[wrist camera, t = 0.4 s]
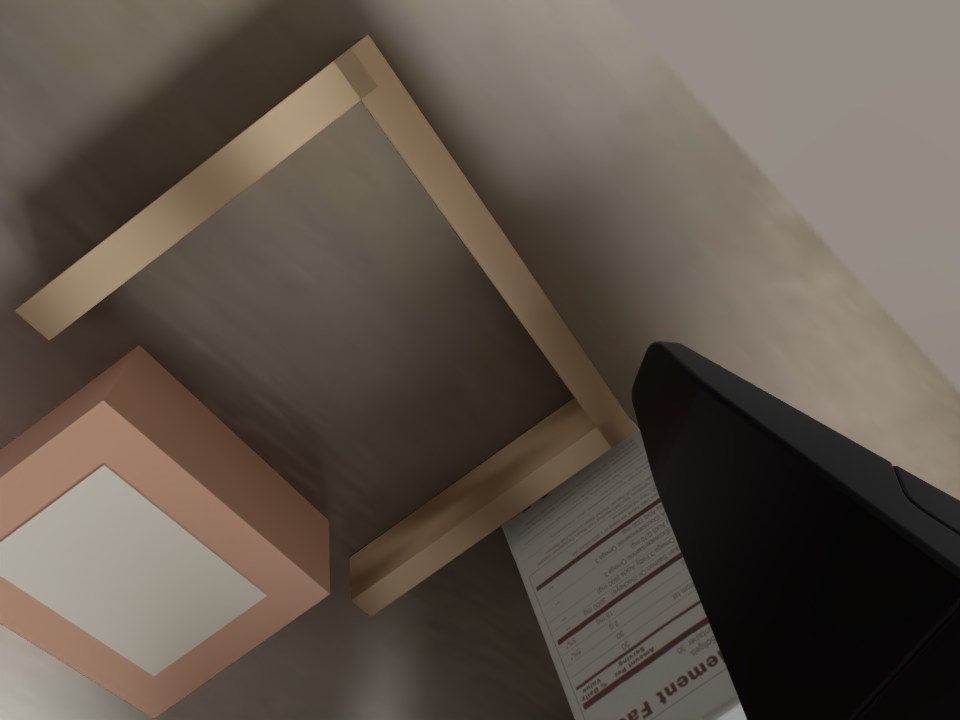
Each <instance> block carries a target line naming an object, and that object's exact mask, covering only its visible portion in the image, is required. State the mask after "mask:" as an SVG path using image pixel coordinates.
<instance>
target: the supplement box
mask: <svg viewBox="0 0 960 720" xmlns="http://www.w3.org/2000/svg"><path fill="white" fill-rule="evenodd" d="M632 423H633V424H634V426H635V427H636V428H637V431H635V432H634V433H633V434H631V435H630V436H628V437H627V438H625V439H624V440H623V441H621V442H620V443H618V444H617V445H615V446H614V447H613V448H611V449H610V450H608V451H607V452H605V453H604V454H603V455H601V456H600V457H598V458H597V459H595V460H594V461H593V462H591V463H590V464H588V465H587V466H585V467H584V468H583V469H581V470H580V471H578V472H577V473H576V474H574V475H573V476H571V477H570V478H568V479H567V480H566V481H564V482H563V483H561V484H560V485H558V486H557V487H556V488H554V489H553V490H551V491H550V492H548V493H547V494H546V495H544V496H543V497H541V498H540V499H538V500H537V501H536V502H534V503H533V504H531V505H530V506H528V507H527V508H526V509H524V510H523V511H521V512H520V513H518V514H517V515H516V516H514V517H513V518H511V519H510V520H508V521H507V522H506V523H504V524H503V525H501V526H502V529H503V532H504V534H505V537H506V539H507V542H508V544H509V547H510V549H511V552H512V554H513V557H514V559H515V562H516V564H517V567H518V570H519V572H520V575H521V578H522V580H523V583H524V586H525V588H526V591H527V594H528V596H529V599H530V602H531V604H532V607H533V610H534V612H535V615H536V617H537V620H538V623H539V625H540V628H541V631H542V633H543V636H544V639H545V641H546V644H547V647H548V649H549V652H550V655H551V657H552V660H553V663H554V665H555V668H556V671H557V673H558V676H559V679H560V681H561V684H562V687H563V689H564V692H565V695H566V697H567V700H568V703H569V705H570V708H571V711H572V713H573V716H574V718H575V720H747V719H746V716H745V713H744V711H743V708H742V706H741V703H740V701H739V698H738V696H737V693H736V691H735V688H734V686H733V683H732V680H731V678H730V675H729V673H728V670H727V668H726V665H725V663H724V660H723V658H722V655H721V652H720V650H719V647H718V645H717V642H716V640H715V637H714V635H713V632H712V630H711V627H710V625H709V622H708V619H707V617H706V614H705V612H704V609H703V607H702V604H701V602H700V599H699V597H698V594H697V591H696V589H695V586H694V584H693V581H692V579H691V576H690V574H689V571H688V569H687V566H686V564H685V561H684V558H683V556H682V553H681V551H680V548H679V546H678V543H677V541H676V538H675V536H674V533H673V530H672V528H671V525H670V523H669V520H668V518H667V515H666V513H665V510H664V508H663V505H662V503H661V500H660V497H659V494H658V492H657V489H656V486H655V483H654V480H653V476H652V473H651V470H650V466H649V462H648V458H647V455H646V451H645V447H644V444H643V440H642V436H641V432H640V429H639V428H638V427H637V426H636V424H635V423H634V422H633V421H632Z"/></svg>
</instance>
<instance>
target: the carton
mask: <svg viewBox="0 0 960 720" xmlns="http://www.w3.org/2000/svg"><path fill="white" fill-rule="evenodd" d="M328 595H330V546H329V520H328V519H326V518H325V517H324V516H323V515H322V514H321V513H320V512H319V511H318V510H317V509H316V508H315V507H314V506H312V505H311V504H310V503H309V502H308V501H307V500H306V499H305V498H304V497H303V496H302V495H301V494H300V493H298V492H297V491H296V490H295V489H294V488H293V487H292V486H291V485H290V484H289V483H288V482H287V481H285V480H284V479H283V478H282V477H281V476H280V475H279V474H278V473H277V472H276V471H275V470H274V469H273V468H271V467H270V466H269V465H268V464H267V463H266V462H265V461H264V460H263V459H262V458H261V457H260V456H259V455H257V454H256V453H255V452H254V451H253V450H252V449H251V448H250V447H249V446H248V445H247V444H246V443H244V442H243V441H242V440H241V439H240V438H239V437H238V436H237V435H236V434H235V433H234V432H233V431H232V430H230V429H229V428H228V427H227V426H226V425H225V424H224V423H223V422H222V421H221V420H220V419H219V418H217V417H216V416H215V415H214V414H213V413H212V412H211V411H210V410H209V409H208V408H207V407H206V406H205V405H203V404H202V403H201V402H200V401H199V400H198V399H197V398H196V397H195V396H194V395H193V394H192V393H191V392H189V391H188V390H187V389H186V388H185V387H184V386H183V385H182V384H181V383H180V382H179V381H178V380H176V379H175V378H174V377H173V376H172V375H171V374H170V373H169V372H168V371H167V370H166V369H165V368H164V367H162V366H161V365H160V364H159V363H158V362H157V361H156V360H155V359H154V358H153V357H152V356H151V355H150V354H148V353H147V352H146V351H145V350H144V349H143V348H142V347H141V346H140V345H138V346H137V347H136V348H134V349H133V350H132V351H130V352H129V353H128V354H126V355H125V356H124V357H122V358H121V359H120V360H118V361H117V362H116V363H114V364H113V365H112V366H110V367H109V368H108V369H107V370H105V371H104V372H103V373H101V374H100V375H99V376H97V377H96V378H95V379H93V380H92V381H91V382H89V383H88V384H87V385H85V386H84V387H83V388H81V389H80V390H79V391H78V392H76V393H75V394H74V395H72V396H71V397H70V398H68V399H67V400H66V401H64V402H63V403H62V404H60V405H59V406H58V407H56V408H55V409H54V410H52V411H51V412H50V413H49V414H47V415H46V416H45V417H43V418H42V419H41V420H39V421H38V422H37V423H35V424H34V425H33V426H31V427H30V428H29V429H27V430H26V431H25V432H23V433H22V434H21V435H19V436H18V437H17V438H16V439H14V440H13V441H12V442H10V443H9V444H8V445H6V446H5V447H4V448H2V449H1V450H0V624H2V625H3V626H5V627H6V628H8V629H10V630H11V631H13V632H15V633H16V634H18V635H19V636H21V637H23V638H24V639H26V640H27V641H29V642H31V643H32V644H34V645H36V646H37V647H39V648H40V649H42V650H44V651H45V652H47V653H49V654H50V655H52V656H53V657H55V658H57V659H58V660H60V661H61V662H63V663H65V664H66V665H68V666H70V667H71V668H73V669H74V670H76V671H78V672H79V673H81V674H82V675H84V676H86V677H87V678H89V679H91V680H92V681H94V682H95V683H97V684H99V685H100V686H102V687H103V688H105V689H107V690H108V691H110V692H112V693H113V694H115V695H116V696H118V697H120V698H121V699H123V700H124V701H126V702H128V703H129V704H131V705H133V706H134V707H136V708H137V709H139V710H141V711H142V712H144V713H146V714H147V715H149V716H150V717H152V718H156V717H157V716H158V715H160V714H161V713H163V712H164V711H166V710H167V709H168V708H170V707H171V706H173V705H174V704H175V703H177V702H178V701H180V700H181V699H183V698H184V697H185V696H187V695H188V694H190V693H191V692H192V691H194V690H195V689H197V688H198V687H200V686H201V685H202V684H204V683H205V682H207V681H208V680H209V679H211V678H212V677H214V676H215V675H217V674H218V673H219V672H221V671H222V670H224V669H225V668H226V667H228V666H229V665H231V664H232V663H234V662H235V661H236V660H238V659H239V658H241V657H242V656H243V655H245V654H246V653H248V652H249V651H250V650H252V649H253V648H255V647H256V646H258V645H259V644H260V643H262V642H263V641H265V640H266V639H267V638H269V637H270V636H272V635H273V634H275V633H276V632H277V631H279V630H280V629H282V628H283V627H284V626H286V625H287V624H289V623H290V622H292V621H293V620H294V619H296V618H297V617H299V616H300V615H301V614H303V613H304V612H306V611H307V610H309V609H310V608H311V607H313V606H314V605H316V604H317V603H318V602H320V601H321V600H323V599H324V598H326V597H327V596H328Z"/></svg>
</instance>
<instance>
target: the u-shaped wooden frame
mask: <svg viewBox="0 0 960 720" xmlns="http://www.w3.org/2000/svg"><path fill="white" fill-rule="evenodd" d="M360 100H361V102H362V103H363V104H364V106H365V107H366V108H367V110H368V111H369V113H370V114H371V115H372V117H373V118H374V120H375V121H376V122H377V124H378V125H379V127H380V128H381V129H382V131H383V132H384V133H385V135H386V136H387V138H388V139H389V140H390V142H391V143H392V145H393V146H394V147H395V149H396V150H397V152H398V153H399V154H400V156H401V157H402V158H403V160H404V161H405V163H406V164H407V165H408V167H409V168H410V170H411V171H412V172H413V174H414V175H415V177H416V178H417V179H418V181H419V182H420V183H421V185H422V186H423V188H424V189H425V190H426V192H427V193H428V195H429V196H430V197H431V199H432V200H433V202H434V203H435V204H436V206H437V207H438V208H439V210H440V211H441V213H442V214H443V215H444V217H445V218H446V220H447V221H448V222H449V224H450V225H451V227H452V228H453V229H454V231H455V232H456V234H457V235H458V236H459V238H460V239H461V240H462V242H463V243H464V245H465V246H466V247H467V249H468V250H469V252H470V253H471V254H472V256H473V257H474V259H475V260H476V261H477V263H478V264H479V265H480V267H481V268H482V270H483V271H484V272H485V274H486V275H487V277H488V278H489V279H490V281H491V282H492V284H493V285H494V286H495V288H496V289H497V290H498V292H499V293H500V295H501V296H502V297H503V299H504V300H505V302H506V303H507V304H508V306H509V307H510V309H511V310H512V311H513V313H514V314H515V315H516V317H517V318H518V320H519V321H520V322H521V324H522V325H523V327H524V328H525V329H526V331H527V332H528V334H529V335H530V336H531V338H532V339H533V340H534V342H535V343H536V345H537V346H538V347H539V349H540V350H541V352H542V353H543V354H544V356H545V357H546V359H547V360H548V361H549V363H550V364H551V365H552V367H553V368H554V370H555V371H556V372H557V374H558V375H559V377H560V378H561V379H562V381H563V382H564V384H565V385H566V386H567V388H568V389H569V390H570V392H571V393H572V395H573V396H574V397H575V398H573V399H572V400H570V401H569V402H568V403H566V404H565V405H563V406H562V407H560V408H559V409H558V410H556V411H555V412H553V413H552V414H551V415H549V416H548V417H546V418H545V419H544V420H542V421H541V422H539V423H538V424H537V425H535V426H534V427H532V428H531V429H530V430H528V431H527V432H525V433H524V434H523V435H521V436H520V437H518V438H517V439H516V440H514V441H513V442H511V443H510V444H508V445H507V446H506V447H504V448H503V449H501V450H500V451H499V452H497V453H496V454H494V455H493V456H492V457H490V458H489V459H487V460H486V461H485V462H483V463H482V464H480V465H479V466H478V467H476V468H475V469H473V470H472V471H471V472H469V473H468V474H466V475H465V476H464V477H462V478H461V479H459V480H458V481H457V482H455V483H454V484H452V485H451V486H449V487H448V488H447V489H445V490H444V491H442V492H441V493H440V494H438V495H437V496H435V497H434V498H433V499H431V500H430V501H428V502H427V503H426V504H424V505H423V506H421V507H420V508H419V509H417V510H416V511H414V512H413V513H412V514H410V515H409V516H407V517H406V518H405V519H403V520H402V521H400V522H399V523H397V524H396V525H395V526H393V527H392V528H390V529H389V530H388V531H386V532H385V533H383V534H382V535H381V536H379V537H378V538H376V539H375V540H374V541H372V542H371V543H369V544H368V545H367V546H365V547H364V548H362V549H361V550H360V551H358V552H357V553H355V554H354V555H353V556H351V557H350V558H349V567H350V587H351V601H352V602H353V603H355V604H356V605H357V606H358V607H359V608H360V609H362V610H363V611H364V612H365V613H366V614H367V615H369V616H370V617H372V616H373V615H374V614H376V613H377V612H379V611H380V610H382V609H383V608H384V607H386V606H387V605H389V604H390V603H392V602H393V601H394V600H396V599H397V598H399V597H400V596H402V595H403V594H404V593H406V592H407V591H409V590H410V589H412V588H413V587H414V586H416V585H417V584H419V583H420V582H422V581H423V580H424V579H426V578H427V577H429V576H430V575H432V574H433V573H434V572H436V571H437V570H439V569H440V568H441V567H443V566H444V565H446V564H447V563H449V562H450V561H451V560H453V559H454V558H456V557H457V556H459V555H460V554H461V553H463V552H464V551H466V550H467V549H469V548H470V547H471V546H473V545H474V544H476V543H477V542H479V541H480V540H481V539H483V538H484V537H486V536H487V535H489V534H490V533H491V532H493V531H494V530H496V529H497V528H499V527H500V526H501V525H503V524H504V523H506V522H507V521H508V520H510V519H511V518H513V517H514V516H516V515H517V514H518V513H520V512H521V511H523V510H524V509H526V508H527V507H528V506H530V505H531V504H533V503H534V502H536V501H537V500H538V499H540V498H541V497H543V496H544V495H546V494H547V493H548V492H550V491H551V490H553V489H554V488H556V487H557V486H558V485H560V484H561V483H563V482H564V481H566V480H567V479H568V478H570V477H571V476H573V475H574V474H576V473H577V472H578V471H580V470H581V469H583V468H584V467H585V466H587V465H588V464H590V463H591V462H593V461H594V460H595V459H597V458H598V457H600V456H601V455H603V454H604V453H605V452H607V451H608V450H610V449H611V448H613V447H614V446H615V445H617V444H618V443H620V442H621V441H623V440H624V439H625V438H627V437H628V436H630V435H631V434H633V433H634V432H635V431H637V428H636V427H635V426H634V424H633V423H632V421H631V420H630V418H629V417H628V415H627V414H626V412H625V411H624V409H623V408H622V406H621V405H620V403H619V402H618V401H617V399H616V398H615V396H614V395H613V393H612V392H611V390H610V389H609V387H608V386H607V384H606V383H605V381H604V380H603V378H602V377H601V376H600V374H599V373H598V371H597V370H596V368H595V367H594V365H593V364H592V362H591V361H590V359H589V358H588V356H587V355H586V354H585V352H584V351H583V349H582V348H581V346H580V345H579V343H578V342H577V340H576V339H575V337H574V336H573V334H572V333H571V331H570V330H569V329H568V327H567V326H566V324H565V323H564V321H563V320H562V318H561V317H560V315H559V314H558V312H557V311H556V309H555V308H554V306H553V305H552V304H551V302H550V301H549V299H548V298H547V296H546V295H545V293H544V292H543V290H542V289H541V287H540V286H539V284H538V283H537V281H536V280H535V279H534V277H533V276H532V274H531V273H530V271H529V270H528V268H527V267H526V265H525V264H524V262H523V261H522V259H521V258H520V257H519V255H518V254H517V252H516V251H515V249H514V248H513V246H512V245H511V243H510V242H509V240H508V239H507V237H506V236H505V234H504V233H503V232H502V230H501V229H500V227H499V226H498V224H497V223H496V221H495V220H494V218H493V217H492V215H491V214H490V212H489V211H488V209H487V208H486V207H485V205H484V204H483V202H482V201H481V199H480V198H479V196H478V195H477V193H476V192H475V190H474V189H473V187H472V186H471V185H470V183H469V182H468V180H467V179H466V177H465V176H464V174H463V173H462V171H461V170H460V168H459V167H458V165H457V164H456V162H455V161H454V160H453V158H452V157H451V155H450V154H449V152H448V151H447V149H446V148H445V146H444V145H443V143H442V142H441V140H440V139H439V137H438V136H437V135H436V133H435V132H434V130H433V129H432V127H431V126H430V124H429V123H428V121H427V120H426V118H425V117H424V115H423V114H422V112H421V111H420V110H419V108H418V107H417V105H416V104H415V102H414V101H413V99H412V98H411V96H410V95H409V93H408V92H407V90H406V89H405V88H404V86H403V85H402V83H401V82H400V80H399V79H398V77H397V76H396V74H395V73H394V71H393V70H392V68H391V67H390V65H389V64H388V63H387V61H386V60H385V58H384V57H383V55H382V54H381V52H380V51H379V49H378V48H377V46H376V45H375V43H374V42H373V40H372V39H371V38H370V36H369V35H366V36H364V37H363V38H362V39H360V40H359V41H358V42H356V43H355V44H354V45H353V46H351V47H350V48H349V49H348V50H346V51H345V52H344V53H342V54H341V55H340V56H339V57H337V58H336V59H335V60H333V61H332V62H331V63H330V64H328V65H327V66H326V67H324V68H323V69H322V70H321V71H319V72H318V73H317V74H316V75H314V76H313V77H312V78H310V79H309V80H308V81H307V82H305V83H304V84H303V85H301V86H300V87H299V88H298V89H296V90H295V91H294V92H293V93H291V94H290V95H289V96H287V97H286V98H285V99H284V100H282V101H281V102H280V103H278V104H277V105H276V106H275V107H273V108H272V109H271V110H269V111H268V112H267V113H266V114H264V115H263V116H262V117H261V118H259V119H258V120H257V121H255V122H254V123H253V124H252V125H250V126H249V127H248V128H246V129H245V130H244V131H243V132H241V133H240V134H239V135H237V136H236V137H235V138H234V139H232V140H231V141H230V142H229V143H227V144H226V145H225V146H223V147H222V148H221V149H220V150H218V151H217V152H216V153H214V154H213V155H212V156H211V157H209V158H208V159H207V160H205V161H204V162H203V163H202V164H200V165H199V166H198V167H197V168H195V169H194V170H193V171H191V172H190V173H189V174H188V175H186V176H185V177H184V178H182V179H181V180H180V181H179V182H177V183H176V184H175V185H174V186H172V187H171V188H170V189H168V190H167V191H166V192H165V193H163V194H162V195H161V196H159V197H158V198H157V199H156V200H154V201H153V202H152V203H150V204H149V205H148V206H147V207H145V208H144V209H143V210H142V211H140V212H139V213H138V214H136V215H135V216H134V217H133V218H131V219H130V220H129V221H127V222H126V223H125V224H124V225H122V226H121V227H120V228H118V229H117V230H116V231H115V232H113V233H112V234H111V235H110V236H108V237H107V238H106V239H104V240H103V241H102V242H101V243H99V244H98V245H97V246H95V247H94V248H93V249H92V250H90V251H89V252H88V253H86V254H85V255H84V256H83V257H81V258H80V259H79V260H78V261H76V262H75V263H74V264H72V265H71V266H70V267H69V268H67V269H66V270H65V271H63V272H62V273H61V274H60V275H58V276H57V277H56V278H54V279H53V280H52V281H51V282H49V283H48V284H47V285H46V286H44V287H43V288H42V289H41V290H39V291H38V292H37V293H36V294H34V295H33V296H32V297H31V298H30V299H28V300H27V301H26V302H25V303H23V304H22V305H21V306H20V307H19V308H17V309H16V310H15V312H16V313H17V314H19V315H20V316H21V317H22V318H23V319H24V320H26V321H27V322H28V323H29V324H30V325H31V326H33V327H34V328H35V329H36V330H37V331H38V332H40V333H41V334H42V335H43V336H44V337H45V338H47V339H48V340H49V341H50V340H51V339H52V338H54V337H55V336H56V335H57V334H59V333H60V332H61V331H63V330H64V329H65V328H67V327H68V326H69V325H70V324H72V323H73V322H74V321H76V320H77V319H78V318H79V317H81V316H82V315H83V314H85V313H86V312H87V311H89V310H90V309H91V308H92V307H94V306H95V305H96V304H98V303H99V302H100V301H101V300H103V299H104V298H105V297H107V296H108V295H109V294H110V293H112V292H113V291H114V290H116V289H117V288H118V287H120V286H121V285H122V284H123V283H125V282H126V281H127V280H129V279H130V278H131V277H132V276H134V275H135V274H136V273H138V272H139V271H140V270H142V269H143V268H144V267H145V266H147V265H148V264H149V263H151V262H152V261H153V260H154V259H156V258H157V257H158V256H160V255H161V254H162V253H164V252H165V251H166V250H167V249H169V248H170V247H171V246H173V245H174V244H175V243H176V242H178V241H179V240H180V239H182V238H183V237H184V236H186V235H187V234H188V233H189V232H191V231H192V230H193V229H195V228H196V227H197V226H198V225H200V224H201V223H202V222H204V221H205V220H206V219H208V218H209V217H210V216H211V215H213V214H214V213H215V212H217V211H218V210H219V209H220V208H222V207H223V206H224V205H226V204H227V203H228V202H229V201H231V200H232V199H233V198H235V197H236V196H237V195H239V194H240V193H241V192H242V191H244V190H245V189H246V188H248V187H249V186H250V185H251V184H253V183H254V182H255V181H257V180H258V179H259V178H261V177H262V176H263V175H264V174H266V173H267V172H268V171H270V170H271V169H272V168H273V167H275V166H276V165H277V164H279V163H280V162H281V161H283V160H284V159H285V158H286V157H288V156H289V155H290V154H292V153H293V152H294V151H295V150H297V149H298V148H299V147H301V146H302V145H303V144H305V143H306V142H307V141H308V140H310V139H311V138H312V137H314V136H315V135H316V134H317V133H319V132H320V131H321V130H323V129H324V128H325V127H327V126H328V125H329V124H330V123H332V122H333V121H334V120H336V119H337V118H338V117H339V116H341V115H342V114H343V113H345V112H346V111H347V110H348V109H350V108H351V107H352V106H354V105H355V104H356V103H358V102H359V101H360Z"/></svg>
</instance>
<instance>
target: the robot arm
mask: <svg viewBox="0 0 960 720" xmlns="http://www.w3.org/2000/svg"><path fill="white" fill-rule="evenodd" d="M632 402H633V406H634V410H635V414H636V417H637V421H638V425H639V429H640V432H641V436H642V440H643V444H644V447H645V451H646V455H647V458H648V462H649V466H650V470H651V473H652V476H653V480H654V483H655V486H656V489H657V492H658V494H659V497H660V500H661V503H662V505H663V508H664V510H665V513H666V515H667V518H668V520H669V523H670V525H671V528H672V530H673V533H674V536H675V538H676V541H677V543H678V546H679V548H680V551H681V553H682V556H683V558H684V561H685V564H686V566H687V569H688V571H689V574H690V576H691V579H692V581H693V584H694V586H695V589H696V591H697V594H698V597H699V599H700V602H701V604H702V607H703V609H704V612H705V614H706V617H707V619H708V622H709V625H710V627H711V630H712V632H713V635H714V637H715V640H716V642H717V645H718V647H719V650H720V652H721V655H722V658H723V660H724V663H725V665H726V668H727V670H728V673H729V675H730V678H731V680H732V683H733V686H734V688H735V691H736V693H737V696H738V698H739V701H740V703H741V706H742V708H743V711H744V713H745V716H746V719H747V720H960V501H959V500H958V499H956V498H954V497H952V496H950V495H948V494H947V493H945V492H943V491H941V490H939V489H938V488H936V487H934V486H932V485H930V484H928V483H927V482H925V481H923V480H921V479H919V478H918V477H916V476H914V475H912V474H911V473H909V472H907V471H905V470H904V469H902V468H900V467H898V466H892V464H891V462H889V461H887V460H886V459H884V458H882V457H880V456H878V455H877V454H875V453H873V452H871V451H870V450H868V449H866V448H864V447H863V446H861V445H859V444H857V443H855V442H854V441H852V440H850V439H848V438H847V437H845V436H843V435H841V434H840V433H838V432H836V431H834V430H832V429H831V428H829V427H827V426H825V425H824V424H822V423H820V422H818V421H817V420H815V419H813V418H811V417H809V416H808V415H806V414H804V413H802V412H801V411H799V410H797V409H795V408H794V407H792V406H790V405H788V404H786V403H785V402H783V401H781V400H779V399H778V398H776V397H774V396H772V395H771V394H769V393H767V392H765V391H763V390H762V389H760V388H758V387H756V386H755V385H753V384H751V383H749V382H748V381H746V380H744V379H742V378H740V377H739V376H737V375H735V374H733V373H732V372H730V371H728V370H726V369H725V368H723V367H721V366H719V365H717V364H716V363H714V362H712V361H710V360H709V359H707V358H705V357H703V356H702V355H700V354H698V353H696V352H694V351H693V350H691V349H689V348H687V347H686V346H684V345H682V344H680V343H675V342H654V343H652V344H651V345H650V346H649V347H648V349H647V351H646V353H645V356H644V358H643V361H642V363H641V366H640V368H639V371H638V374H637V376H636V379H635V381H634V384H633V388H632Z"/></svg>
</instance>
